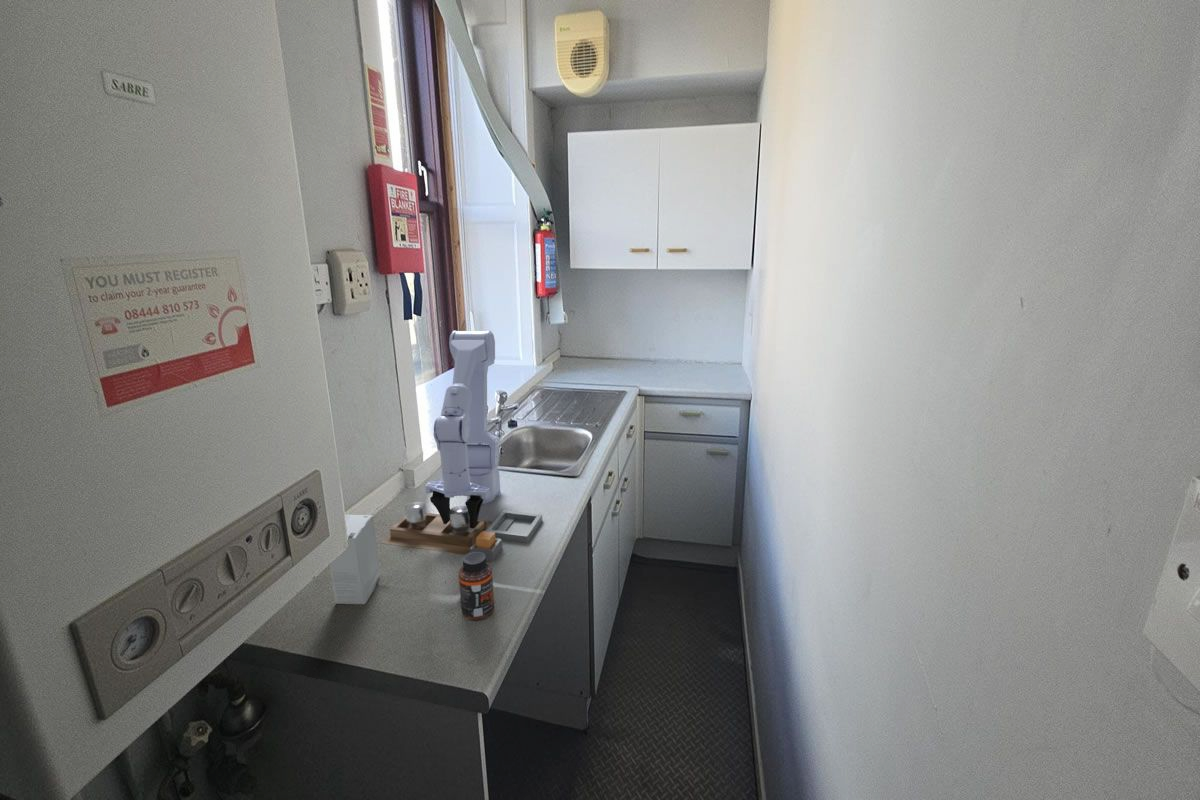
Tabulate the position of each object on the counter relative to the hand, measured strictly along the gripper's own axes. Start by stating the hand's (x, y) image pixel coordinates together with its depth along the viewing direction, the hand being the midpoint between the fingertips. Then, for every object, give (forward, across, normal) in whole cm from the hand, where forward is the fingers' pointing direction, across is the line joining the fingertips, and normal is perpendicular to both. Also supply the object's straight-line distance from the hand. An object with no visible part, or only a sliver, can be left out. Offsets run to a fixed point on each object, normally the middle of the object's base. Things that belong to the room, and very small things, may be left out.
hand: (460, 523), depth 123 cm
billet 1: (+3, -11, 0) cm, 11 cm away
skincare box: (+4, -10, -22) cm, 25 cm away
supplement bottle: (+4, +14, -22) cm, 27 cm away
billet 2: (+3, 0, 0) cm, 3 cm away
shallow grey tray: (+4, +10, +6) cm, 13 cm away
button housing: (+4, +8, -5) cm, 11 cm away
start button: (+2, +9, -5) cm, 10 cm away
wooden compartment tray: (+4, -6, 0) cm, 7 cm away
